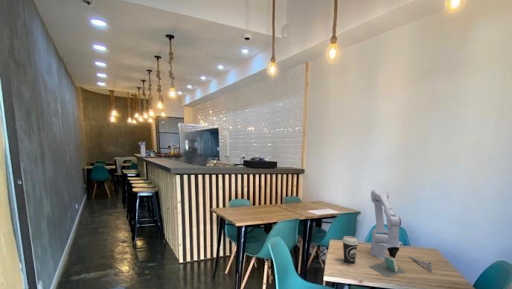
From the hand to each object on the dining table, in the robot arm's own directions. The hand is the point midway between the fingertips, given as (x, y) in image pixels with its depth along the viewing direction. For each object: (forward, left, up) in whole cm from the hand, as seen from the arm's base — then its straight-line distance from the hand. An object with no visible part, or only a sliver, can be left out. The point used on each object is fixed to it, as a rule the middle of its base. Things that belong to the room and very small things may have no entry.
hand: (392, 258), depth 144 cm
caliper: (+2, +24, -7) cm, 25 cm away
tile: (0, 0, -6) cm, 6 cm away
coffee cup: (-17, -17, -7) cm, 25 cm away
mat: (-2, -3, -7) cm, 8 cm away
